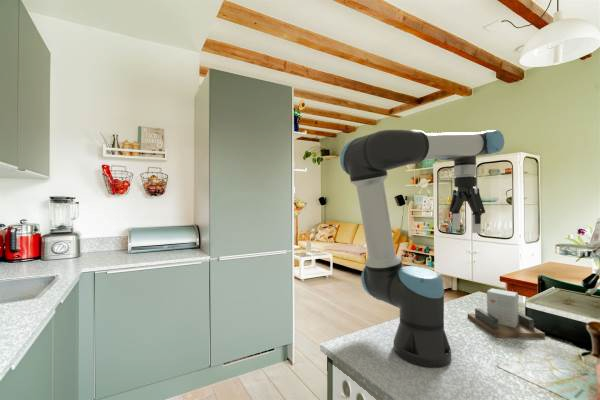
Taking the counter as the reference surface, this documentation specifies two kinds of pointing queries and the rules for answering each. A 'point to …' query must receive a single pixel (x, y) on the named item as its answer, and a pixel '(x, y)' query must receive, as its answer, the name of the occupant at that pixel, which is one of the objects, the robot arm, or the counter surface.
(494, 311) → the small box
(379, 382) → the counter surface
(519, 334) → the mounting plate
